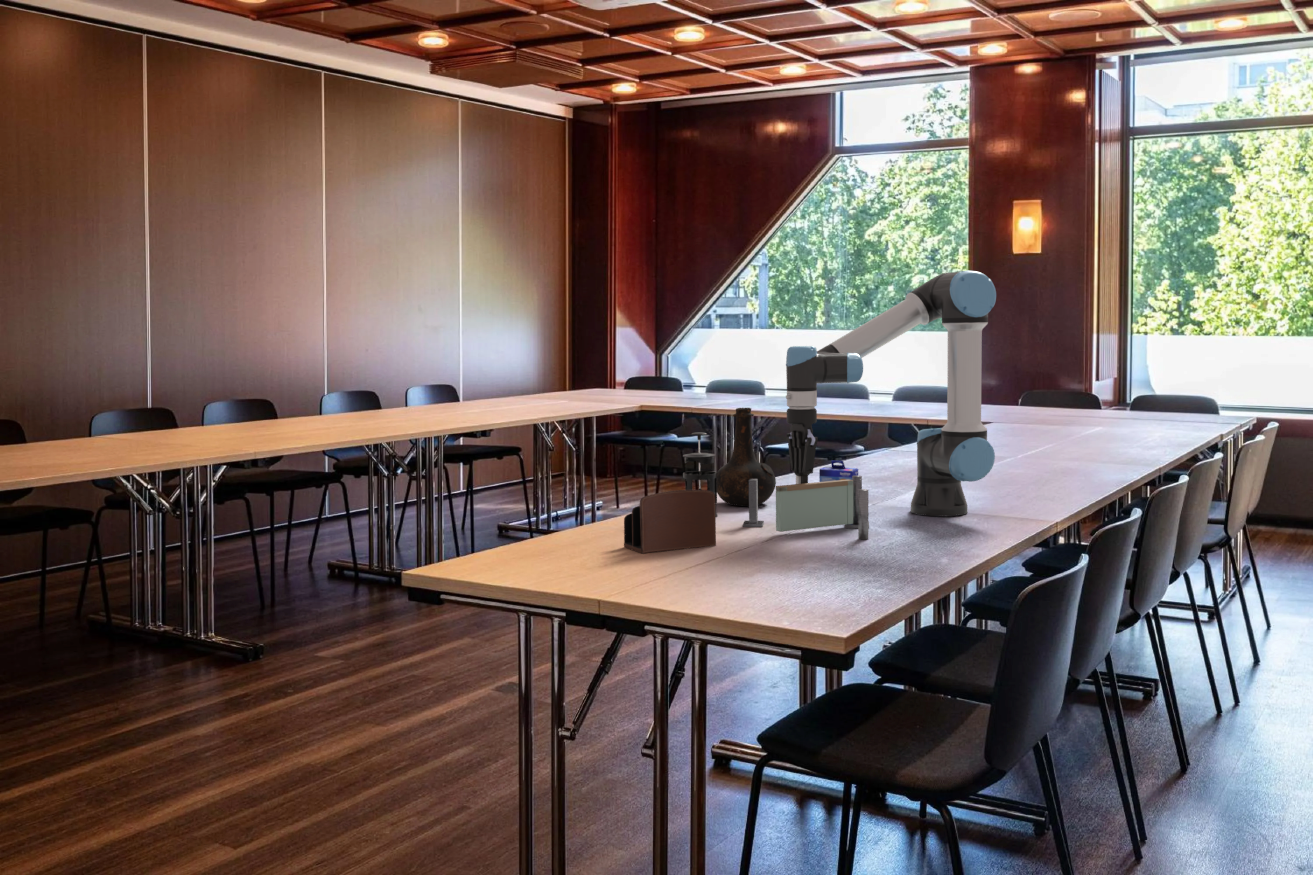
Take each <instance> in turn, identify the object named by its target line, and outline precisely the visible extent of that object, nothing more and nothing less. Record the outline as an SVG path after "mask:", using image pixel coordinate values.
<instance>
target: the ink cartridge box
mask: <svg viewBox="0 0 1313 875" xmlns="http://www.w3.org/2000/svg"><path fill="white" fill-rule="evenodd" d="M830 464H831V466H824V467H821V468H819V473H818V474H819V478H818V479H819V480H818V482H825V481H836V480H847V479H849V480H852V476H859V468H858V467H857V468H855V467H846V465H845V462H844V460H830Z"/></svg>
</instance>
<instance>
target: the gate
mask: <svg viewBox="0 0 1313 875" xmlns="http://www.w3.org/2000/svg"><path fill="white" fill-rule="evenodd" d="M845 524H853V480H849V479H847V480H836V481H825V482H819V481H818V482H817V481H815V482H808V483H803V484H796V483H795V484H782V485H775V530H776V532H779V533H782V532H783V533H784V532H790V531H800V530H808V529H817V528H824V527H825V528H827V527H835V526H845Z"/></svg>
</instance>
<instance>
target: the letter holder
mask: <svg viewBox="0 0 1313 875" xmlns="http://www.w3.org/2000/svg"><path fill="white" fill-rule="evenodd" d="M716 518H717V517H716V509H715V494H714V493H713V492H712V491H708V490H707V489H706V490H704V489H701V490H698V489H692V490H686V489H681V490H680V489H678V490H670V491H669V490H668V491H663V492H657V493H654V494H649V495H645V496H643V497H641V498H640V501H639V505H637V506H635V507H633V508H632V510H631V513H629V514H627V515H625V517H624V518H623V547H624V548H625V549H628V550H631V551H633V552H636V553H638V554H641V555H644V554H654V553H662V552H669V551H671V552H672V551H679V550H690V549H698V548H707V547H715V546H717V535H716V534H717V533H716V532H717V527H716V526H717V522H716Z"/></svg>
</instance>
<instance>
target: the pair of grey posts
mask: <svg viewBox="0 0 1313 875" xmlns="http://www.w3.org/2000/svg"><path fill="white" fill-rule="evenodd" d="M852 480H853V524H845V525H844V526H845V527H844V528H845V529H858V532H857V533H858V535H857V537H858V538H857V539H858V540H860V541H867V540H869V529H870V521H869V489H868V488H867V489H866V488H863V476H862V475H858V476H852ZM758 506H759V505H758V484H757V479H749V506H748V507H749V508H748V520H744V521H743V523H742V527H743V528H763V527H764V524H765V521H764V520H759V515H758V513H759V512H758V511H759V510H758V509H759V507H758Z"/></svg>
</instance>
